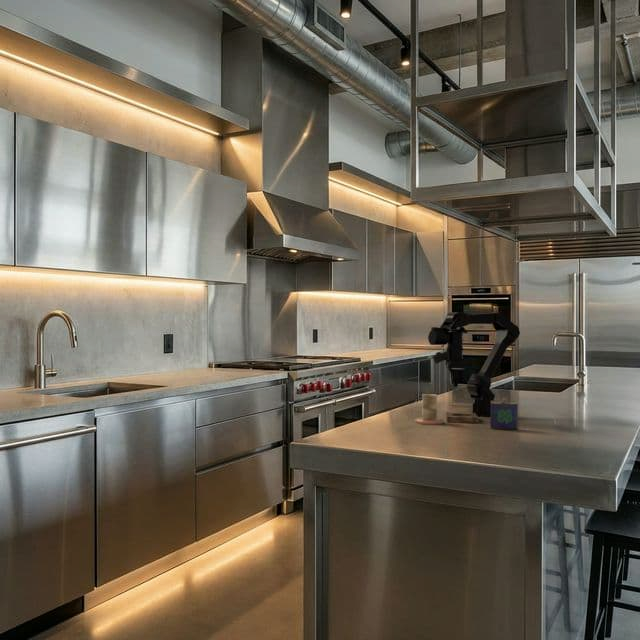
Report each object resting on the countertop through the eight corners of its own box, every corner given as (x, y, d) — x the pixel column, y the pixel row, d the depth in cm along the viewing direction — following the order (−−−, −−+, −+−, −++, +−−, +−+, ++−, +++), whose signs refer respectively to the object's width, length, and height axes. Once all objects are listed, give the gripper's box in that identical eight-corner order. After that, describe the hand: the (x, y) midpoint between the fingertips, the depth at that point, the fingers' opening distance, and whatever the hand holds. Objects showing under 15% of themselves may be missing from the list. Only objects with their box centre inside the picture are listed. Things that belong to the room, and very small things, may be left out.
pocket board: (475, 418, 235) (475, 413, 235) (478, 423, 224) (478, 417, 224) (445, 417, 237) (445, 412, 237) (447, 422, 226) (447, 416, 226)
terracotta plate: (442, 420, 230) (442, 417, 230) (444, 425, 220) (444, 422, 220) (415, 419, 231) (415, 417, 231) (415, 424, 221) (415, 421, 221)
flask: (516, 428, 214) (516, 397, 214) (519, 430, 211) (519, 398, 211) (489, 428, 215) (489, 397, 215) (491, 429, 212) (491, 398, 212)
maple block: (436, 418, 227) (436, 394, 227) (436, 420, 223) (436, 395, 223) (422, 418, 228) (422, 393, 228) (422, 420, 224) (422, 395, 224)
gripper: (432, 343, 249) (432, 382, 249) (434, 345, 231) (434, 387, 231) (461, 344, 248) (460, 383, 248) (465, 346, 229) (464, 388, 229)
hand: (454, 385), depth 239 cm, fingers open, 9 cm apart
